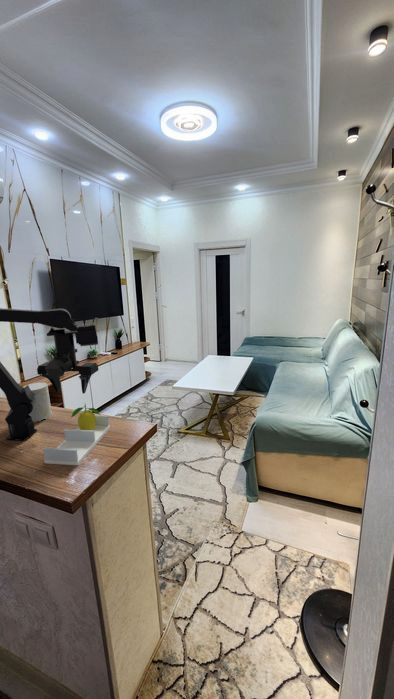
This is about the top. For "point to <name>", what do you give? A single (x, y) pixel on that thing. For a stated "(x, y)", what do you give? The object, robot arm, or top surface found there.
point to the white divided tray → (77, 444)
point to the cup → (40, 402)
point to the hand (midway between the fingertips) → (71, 392)
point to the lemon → (86, 418)
